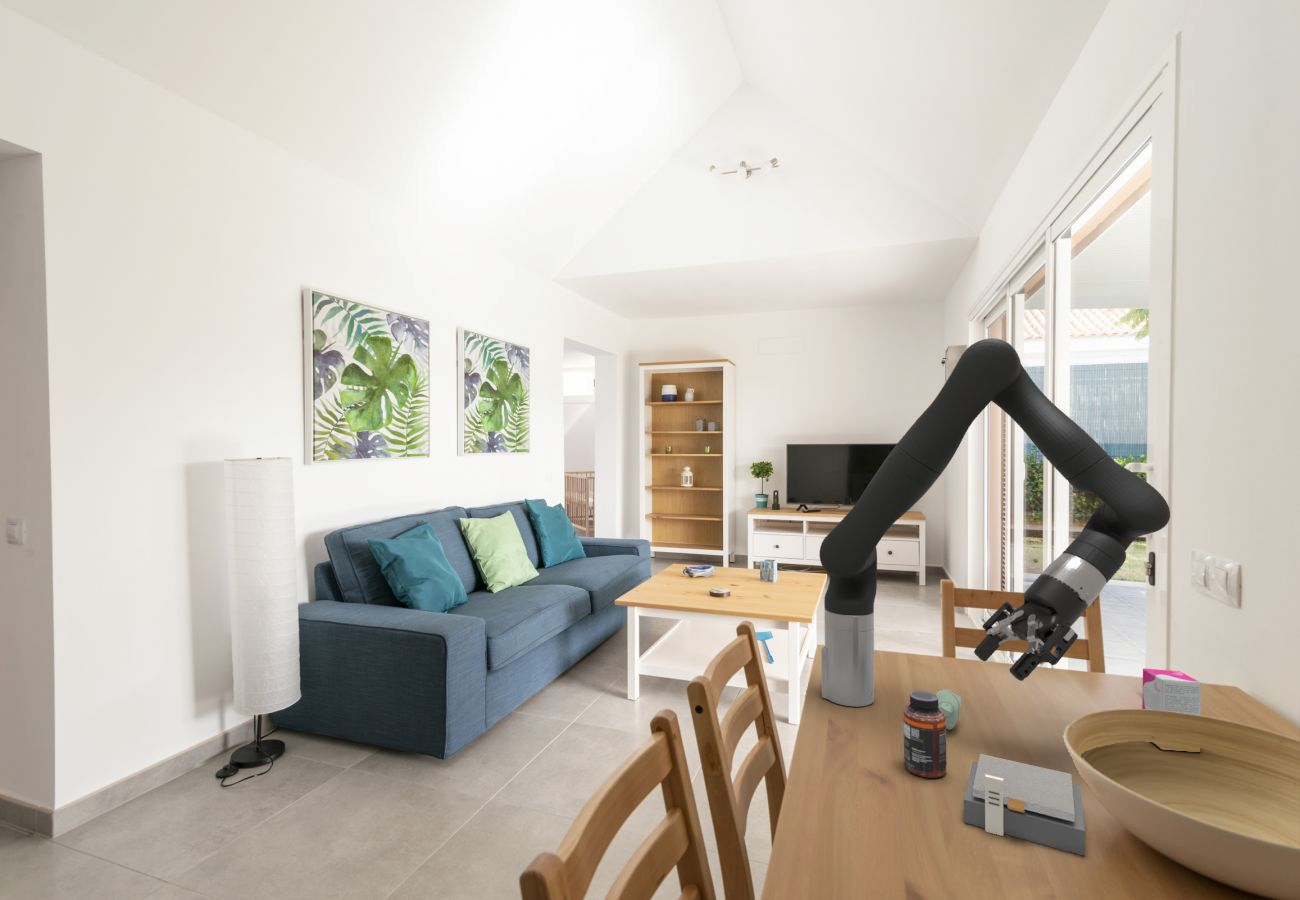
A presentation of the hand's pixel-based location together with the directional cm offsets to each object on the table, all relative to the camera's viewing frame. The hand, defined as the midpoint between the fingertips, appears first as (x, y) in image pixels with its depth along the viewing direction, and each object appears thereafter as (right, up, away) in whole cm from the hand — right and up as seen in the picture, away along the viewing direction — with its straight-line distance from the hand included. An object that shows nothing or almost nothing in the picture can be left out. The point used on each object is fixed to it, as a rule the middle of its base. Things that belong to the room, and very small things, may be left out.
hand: (996, 666), depth 97 cm
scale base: (-4, -15, -13) cm, 20 cm away
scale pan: (-4, -12, -14) cm, 19 cm away
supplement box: (+32, -15, +7) cm, 36 cm away
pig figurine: (-2, -15, +13) cm, 20 cm away
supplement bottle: (-11, -15, -1) cm, 19 cm away
